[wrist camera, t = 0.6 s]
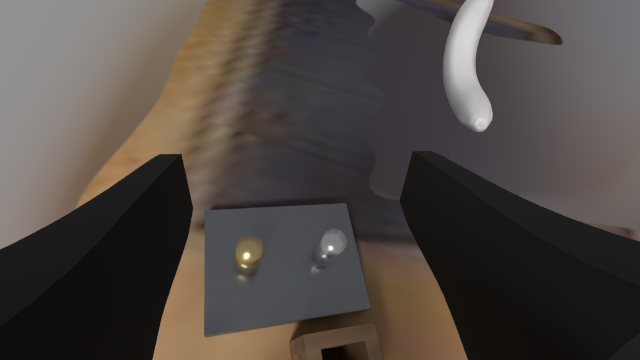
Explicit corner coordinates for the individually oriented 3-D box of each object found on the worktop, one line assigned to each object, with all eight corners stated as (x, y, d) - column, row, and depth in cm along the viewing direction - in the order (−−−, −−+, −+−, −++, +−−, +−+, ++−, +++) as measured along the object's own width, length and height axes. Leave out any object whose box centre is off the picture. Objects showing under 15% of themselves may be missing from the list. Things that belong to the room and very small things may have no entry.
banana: (447, 151, 37) (554, 43, 25) (421, 50, 47) (488, -62, 35) (483, 157, 38) (603, 56, 26) (450, 57, 48) (524, -50, 36)
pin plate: (365, 310, 25) (389, 299, 21) (205, 337, 21) (200, 329, 18) (342, 208, 29) (358, 185, 25) (205, 216, 26) (202, 190, 22)
